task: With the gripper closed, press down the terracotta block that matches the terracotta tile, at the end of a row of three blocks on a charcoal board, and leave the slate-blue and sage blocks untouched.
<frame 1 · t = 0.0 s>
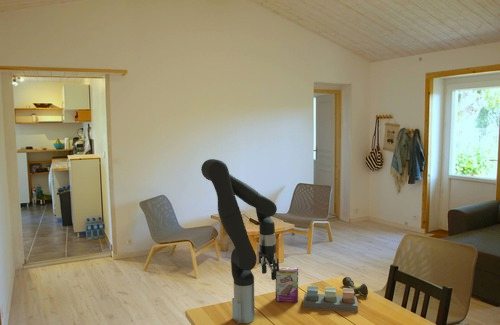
hand: (269, 276, 186), 17 cm above the table, tool pointing down, fingers open, 8 cm apart
terracotta tile: (330, 297, 202), on the table
candy bar box: (286, 300, 200), on the table
slate-blue block: (312, 293, 195), point 6 cm above the table, slide at 0.0 cm
terracotta block: (348, 295, 191), point 6 cm above the table, slide at 0.0 cm
sage block: (330, 294, 193), point 5 cm above the table, slide at 0.0 cm
kendama: (354, 293, 207), on the table
charcoal board: (330, 305, 194), on the table
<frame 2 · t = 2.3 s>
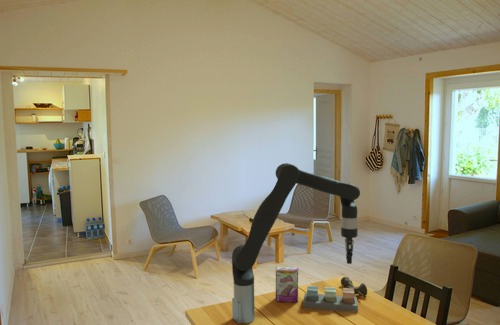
hand: (348, 261, 190), 22 cm above the table, tool pointing down, fingers open, 4 cm apart
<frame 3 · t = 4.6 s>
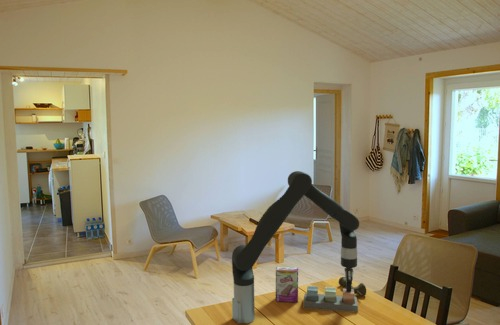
hand: (348, 291, 191), 8 cm above the table, tool pointing down, fingers closed
terracotta block: (348, 296, 192), point 5 cm above the table, slide at 0.3 cm, touching gripper
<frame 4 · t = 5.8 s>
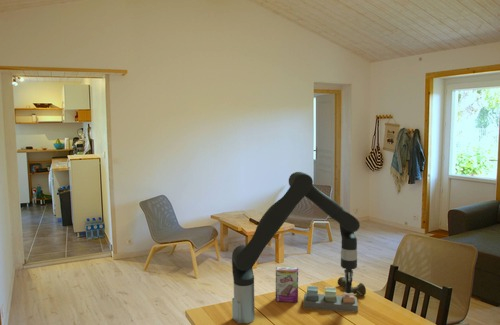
hand: (348, 292, 191), 7 cm above the table, tool pointing down, fingers closed
terracotta block: (348, 299, 192), point 3 cm above the table, slide at 2.2 cm
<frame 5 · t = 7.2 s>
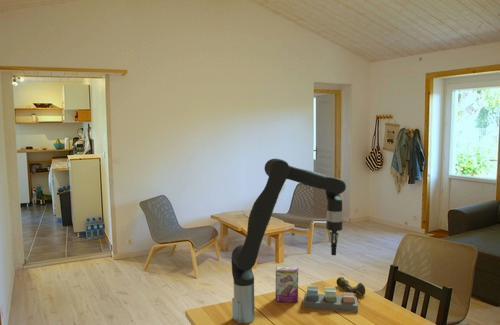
hand: (333, 254, 194), 24 cm above the table, tool pointing down, fingers closed
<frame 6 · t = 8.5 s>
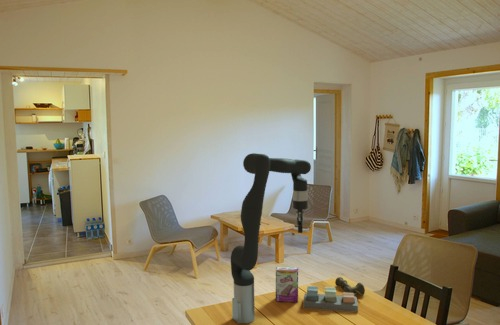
hand: (300, 232, 205), 32 cm above the table, tool pointing down, fingers closed
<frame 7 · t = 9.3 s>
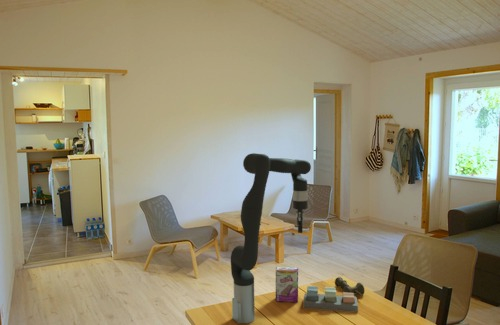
hand: (300, 232, 205), 32 cm above the table, tool pointing down, fingers closed
at the end: terracotta block slide at 2.2 cm; slate-blue block slide at 0.0 cm; sage block slide at 0.0 cm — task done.
